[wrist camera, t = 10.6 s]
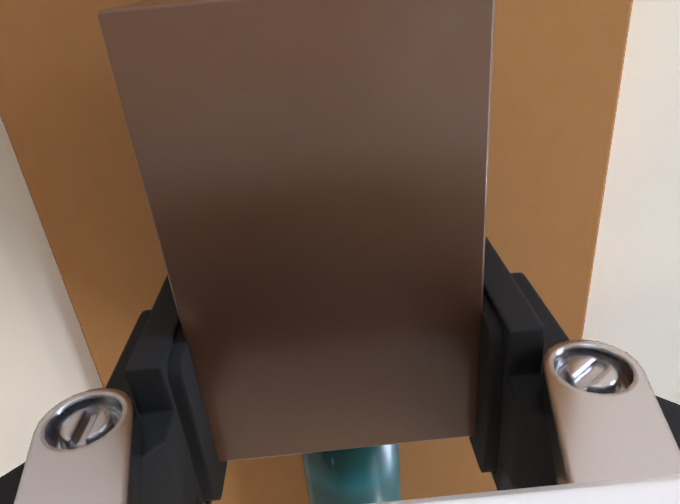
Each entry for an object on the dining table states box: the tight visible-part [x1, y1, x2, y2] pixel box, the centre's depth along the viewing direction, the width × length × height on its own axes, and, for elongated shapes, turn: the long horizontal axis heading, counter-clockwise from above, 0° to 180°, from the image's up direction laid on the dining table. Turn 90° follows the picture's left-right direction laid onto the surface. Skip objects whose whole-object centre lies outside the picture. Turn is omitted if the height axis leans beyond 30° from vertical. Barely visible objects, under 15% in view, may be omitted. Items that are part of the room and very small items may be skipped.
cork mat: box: [0, 0, 633, 504], centre depth 12 cm, size 20×12×1 cm, turn 5°
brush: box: [97, 0, 496, 504], centre depth 12 cm, size 19×4×4 cm, turn 5°
